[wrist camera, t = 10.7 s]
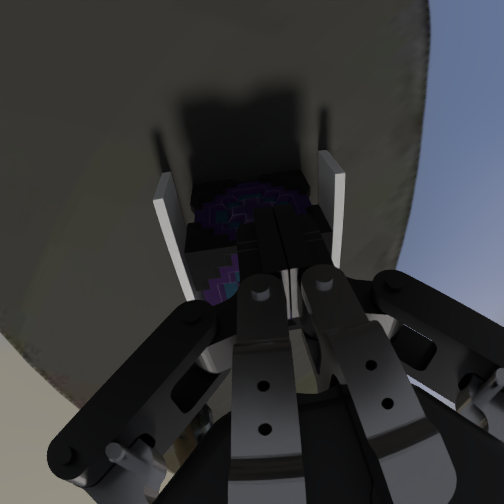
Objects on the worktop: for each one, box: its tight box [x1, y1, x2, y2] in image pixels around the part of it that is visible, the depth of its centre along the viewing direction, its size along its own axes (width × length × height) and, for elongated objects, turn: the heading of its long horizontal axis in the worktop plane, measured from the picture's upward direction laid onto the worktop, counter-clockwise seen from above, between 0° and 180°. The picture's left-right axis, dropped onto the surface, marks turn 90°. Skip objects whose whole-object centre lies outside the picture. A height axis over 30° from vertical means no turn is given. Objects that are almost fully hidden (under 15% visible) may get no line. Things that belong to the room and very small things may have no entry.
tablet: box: [173, 406, 213, 466], centre depth 68 cm, size 33×14×25 cm, turn 3°
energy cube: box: [184, 170, 333, 330], centre depth 34 cm, size 12×12×12 cm
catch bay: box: [153, 150, 345, 301], centre depth 36 cm, size 18×18×6 cm
